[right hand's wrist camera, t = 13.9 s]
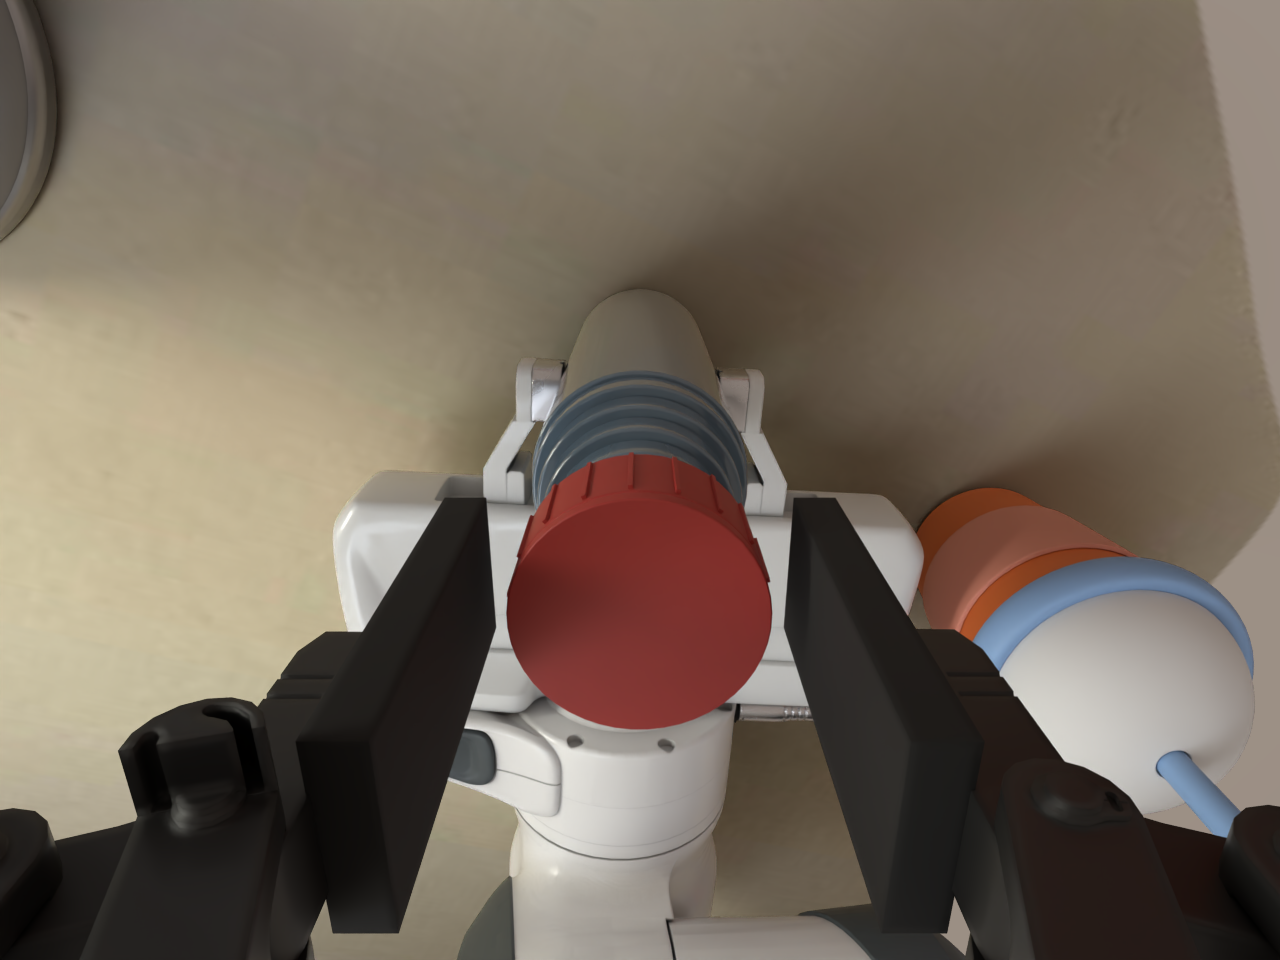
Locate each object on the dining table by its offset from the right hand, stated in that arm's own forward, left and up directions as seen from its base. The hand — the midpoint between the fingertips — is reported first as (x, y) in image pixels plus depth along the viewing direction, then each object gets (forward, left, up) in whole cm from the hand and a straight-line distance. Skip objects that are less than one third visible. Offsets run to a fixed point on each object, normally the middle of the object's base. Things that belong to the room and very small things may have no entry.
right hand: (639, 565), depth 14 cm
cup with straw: (+9, -15, -19) cm, 26 cm away
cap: (0, 0, +2) cm, 2 cm away
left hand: (0, +1, -12) cm, 12 cm away
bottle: (0, 0, -19) cm, 19 cm away
